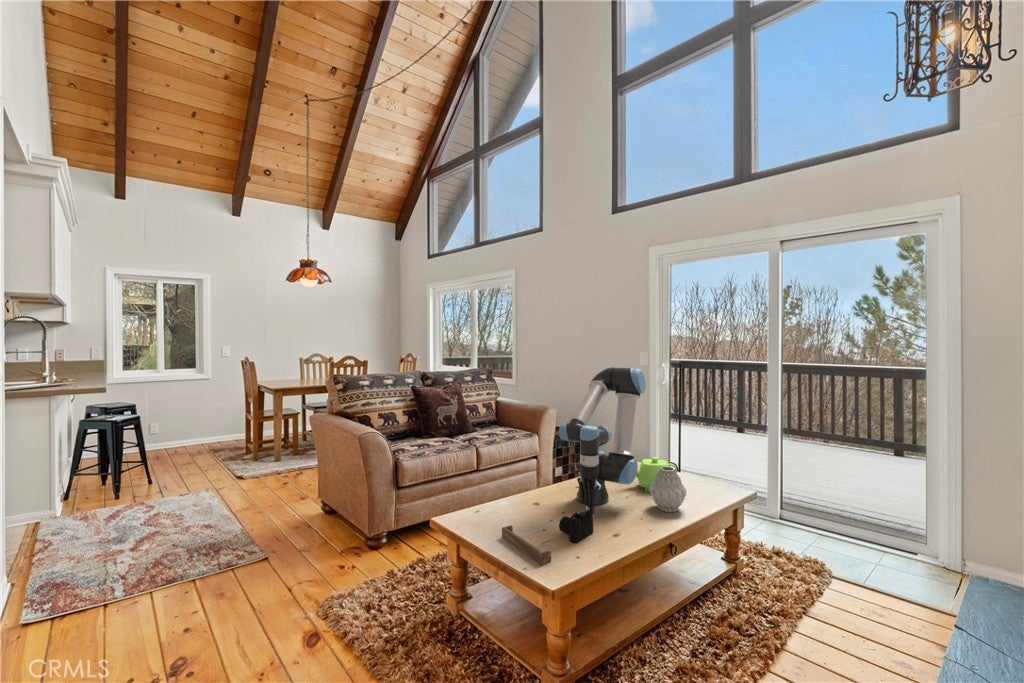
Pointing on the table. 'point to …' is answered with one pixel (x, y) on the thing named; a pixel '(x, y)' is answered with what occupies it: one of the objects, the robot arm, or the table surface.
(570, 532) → the camera
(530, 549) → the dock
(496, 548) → the table surface
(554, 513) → the table surface
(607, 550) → the table surface
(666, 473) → the vase
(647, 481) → the teapot
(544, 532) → the table surface
